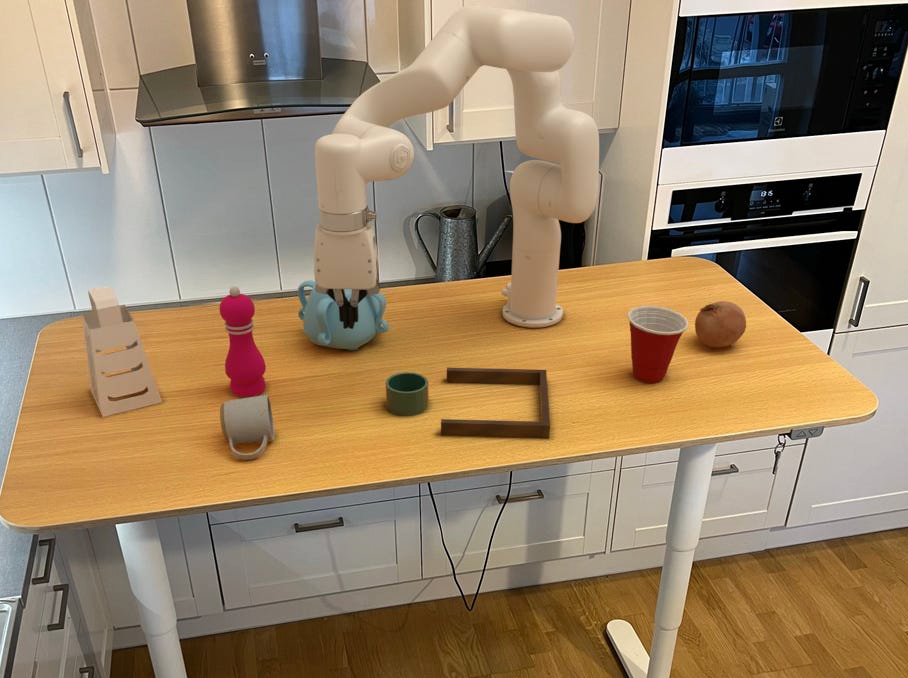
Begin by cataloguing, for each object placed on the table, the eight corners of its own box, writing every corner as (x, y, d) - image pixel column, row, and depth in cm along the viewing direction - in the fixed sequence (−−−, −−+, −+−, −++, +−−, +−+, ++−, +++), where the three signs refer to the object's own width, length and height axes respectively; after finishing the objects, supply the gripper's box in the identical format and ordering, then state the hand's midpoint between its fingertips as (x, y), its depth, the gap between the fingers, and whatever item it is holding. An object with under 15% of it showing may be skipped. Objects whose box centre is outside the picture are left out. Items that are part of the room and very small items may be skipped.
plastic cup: (680, 393, 167) (690, 332, 160) (619, 387, 169) (626, 327, 162) (679, 365, 175) (688, 306, 168) (621, 360, 177) (628, 302, 170)
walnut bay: (440, 435, 156) (440, 422, 155) (447, 379, 172) (447, 367, 170) (549, 438, 155) (550, 425, 153) (545, 381, 171) (546, 369, 169)
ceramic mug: (226, 429, 158) (219, 390, 153) (274, 425, 159) (269, 386, 154) (224, 464, 150) (217, 424, 145) (275, 460, 151) (269, 420, 146)
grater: (102, 416, 162) (75, 311, 150) (91, 390, 170) (64, 288, 158) (162, 402, 166) (140, 298, 154) (148, 377, 174) (126, 276, 162)
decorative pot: (394, 350, 182) (392, 285, 174) (313, 362, 178) (307, 296, 170) (372, 316, 194) (369, 254, 187) (297, 327, 190) (291, 264, 183)
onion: (698, 362, 183) (683, 323, 177) (707, 331, 188) (693, 292, 182) (747, 356, 177) (733, 315, 171) (755, 324, 182) (742, 284, 177)
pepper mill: (275, 382, 171) (262, 281, 160) (256, 401, 166) (242, 297, 154) (240, 377, 173) (225, 276, 162) (221, 395, 168) (204, 292, 156)
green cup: (378, 403, 165) (377, 380, 162) (412, 390, 168) (412, 368, 166) (402, 420, 160) (401, 397, 157) (436, 407, 164) (436, 384, 161)
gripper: (393, 211, 148) (395, 317, 158) (300, 209, 149) (309, 314, 159) (388, 227, 142) (391, 336, 152) (291, 225, 143) (301, 333, 153)
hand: (349, 325), depth 156 cm, fingers closed
